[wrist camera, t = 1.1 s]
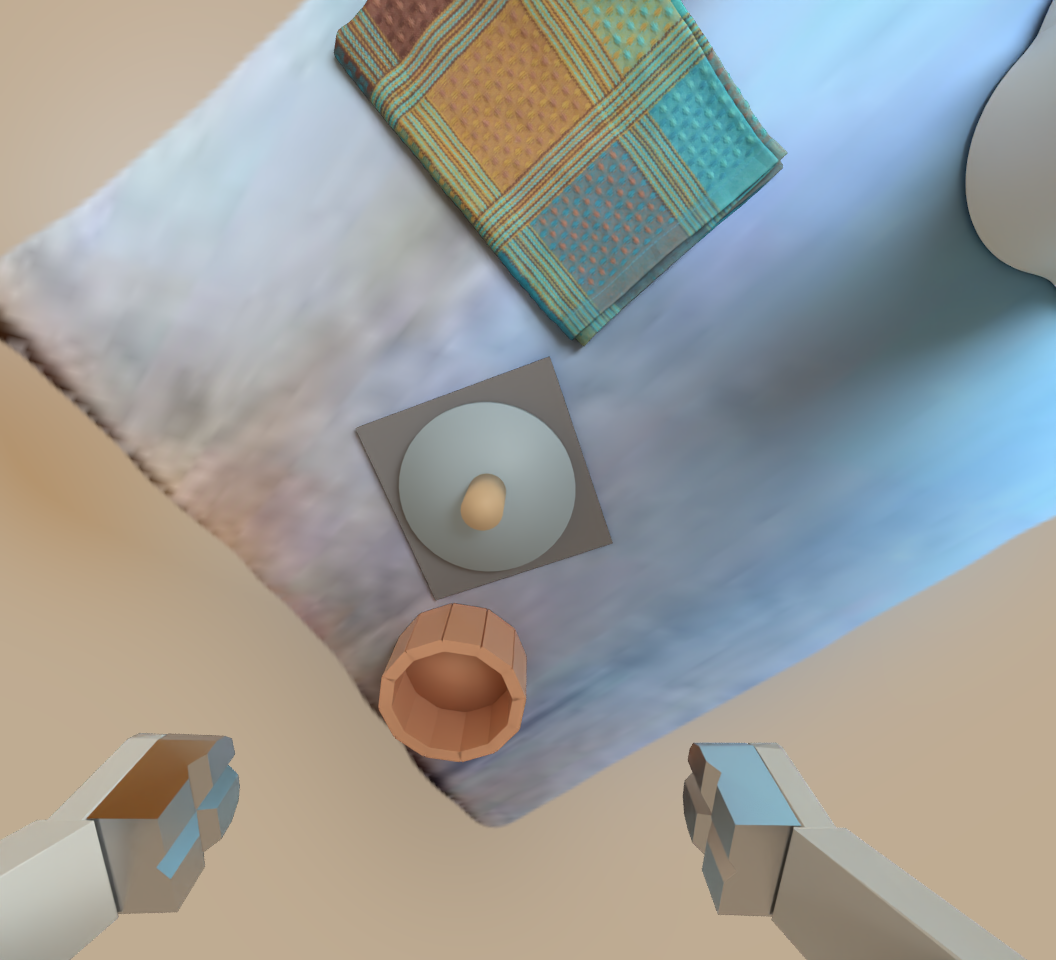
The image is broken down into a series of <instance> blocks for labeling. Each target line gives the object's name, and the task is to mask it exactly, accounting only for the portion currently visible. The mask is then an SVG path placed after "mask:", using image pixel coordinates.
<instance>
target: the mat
mask: <svg viewBox="0 0 1056 960" xmlns="http://www.w3.org/2000/svg"><path fill="white" fill-rule="evenodd" d="M489 401H491V402H499V403H505V404H509V405H513V406H516V407H518V408H521V409H523V410H526V411H528V412H529V413H531V414H533V415H535V416H536V417H538V418H539V419H540V420H542V421H543V422H544V423H545V424H546V425H547V426H549V427H550V428H551V429H552V430H553V431H554V433H555V434H556V435H557V437H558V438H559V439H560V441H561V442H562V444H563V446H564V447H565V449H566V451H567V453H568V456H569V458H570V461H571V464H572V468H573V472H574V477H575V502H574V508H573V511H572V515H571V518H570V520H569V522H568V524H567V527H566V528H565V530H564V532H563V533H562V535H561V536H560V538H559V539H558V540H557V541H556V542H555V544H554V545H553V546H552V547H551V548H549V549H548V550H547V551H546V552H545V553H544V554H542V555H541V556H539V557H538V558H536V559H535V560H533V561H531V562H529V563H527V564H524V565H522V566H519V567H516V568H512V569H509V570H502V571H476V570H471V569H466V568H463V567H460V566H457V565H454V564H452V563H450V562H448V561H446V560H444V559H442V558H441V557H439V556H438V555H436V554H434V553H433V552H432V551H431V550H430V549H428V548H427V547H426V546H425V545H424V544H423V543H422V542H421V541H420V540H419V538H418V537H417V536H416V534H415V533H414V532H413V530H412V529H411V527H410V525H409V523H408V521H407V520H406V517H405V514H404V512H403V509H402V505H401V501H400V494H399V475H400V470H401V465H402V462H403V459H404V456H405V454H406V452H407V449H408V447H409V445H410V444H411V442H412V441H413V439H414V438H415V437H416V435H417V434H418V433H419V432H420V431H421V430H422V429H423V428H424V427H425V426H426V425H427V424H428V423H429V422H431V421H432V420H433V419H434V418H435V417H437V416H439V415H440V414H442V413H443V412H445V411H447V410H449V409H452V408H454V407H456V406H460V405H463V404H467V403H473V402H489ZM356 431H357V433H358V435H359V437H360V439H361V442H362V444H363V446H364V448H365V450H366V452H367V454H368V457H369V459H370V461H371V463H372V465H373V467H374V469H375V472H376V474H377V476H378V478H379V480H380V482H381V484H382V487H383V489H384V491H385V493H386V495H387V497H388V499H389V502H390V504H391V506H392V508H393V510H394V512H395V514H396V517H397V519H398V521H399V523H400V525H401V527H402V529H403V531H404V534H405V536H406V538H407V540H408V542H409V544H410V546H411V549H412V551H413V553H414V555H415V557H416V559H417V561H418V564H419V566H420V568H421V570H422V572H423V574H424V576H425V579H426V581H427V583H428V585H429V587H430V589H431V591H432V594H433V596H434V598H435V600H438V599H441V598H444V597H447V596H450V595H453V594H456V593H460V592H463V591H466V590H469V589H472V588H475V587H478V586H481V585H484V584H487V583H491V582H494V581H497V580H500V579H503V578H506V577H509V576H512V575H515V574H519V573H522V572H525V571H528V570H531V569H534V568H537V567H540V566H543V565H546V564H550V563H553V562H556V561H559V560H562V559H565V558H568V557H571V556H574V555H577V554H581V553H584V552H587V551H590V550H593V549H596V548H599V547H602V546H605V545H609V544H612V540H611V537H610V534H609V531H608V528H607V525H606V522H605V519H604V516H603V513H602V510H601V507H600V504H599V501H598V498H597V495H596V492H595V489H594V486H593V483H592V481H591V478H590V475H589V472H588V469H587V466H586V463H585V460H584V457H583V454H582V451H581V448H580V445H579V442H578V439H577V436H576V433H575V430H574V427H573V424H572V421H571V418H570V415H569V412H568V409H567V406H566V403H565V400H564V397H563V394H562V392H561V389H560V386H559V383H558V380H557V377H556V374H555V371H554V368H553V365H552V362H551V359H550V356H549V357H547V358H544V359H541V360H539V361H536V362H533V363H530V364H528V365H525V366H522V367H520V368H517V369H514V370H511V371H509V372H506V373H503V374H501V375H498V376H495V377H492V378H490V379H487V380H484V381H482V382H479V383H476V384H474V385H471V386H468V387H465V388H463V389H460V390H457V391H455V392H452V393H449V394H446V395H444V396H441V397H438V398H436V399H433V400H430V401H427V402H425V403H422V404H419V405H417V406H414V407H411V408H408V409H406V410H403V411H400V412H398V413H395V414H392V415H390V416H387V417H384V418H381V419H379V420H376V421H373V422H371V423H368V424H365V425H362V426H360V427H357V428H356Z"/></svg>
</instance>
